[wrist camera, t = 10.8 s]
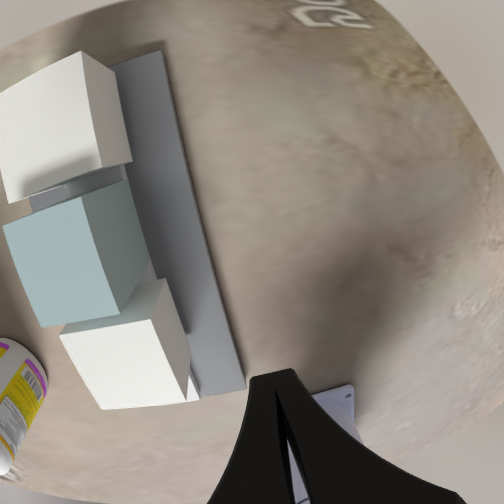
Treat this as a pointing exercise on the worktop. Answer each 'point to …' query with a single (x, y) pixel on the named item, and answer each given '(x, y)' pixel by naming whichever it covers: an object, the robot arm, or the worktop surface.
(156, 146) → the board
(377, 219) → the worktop surface
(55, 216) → the block
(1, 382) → the supplement bottle
